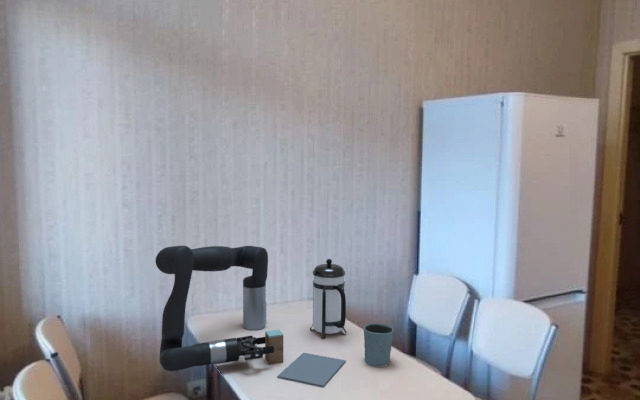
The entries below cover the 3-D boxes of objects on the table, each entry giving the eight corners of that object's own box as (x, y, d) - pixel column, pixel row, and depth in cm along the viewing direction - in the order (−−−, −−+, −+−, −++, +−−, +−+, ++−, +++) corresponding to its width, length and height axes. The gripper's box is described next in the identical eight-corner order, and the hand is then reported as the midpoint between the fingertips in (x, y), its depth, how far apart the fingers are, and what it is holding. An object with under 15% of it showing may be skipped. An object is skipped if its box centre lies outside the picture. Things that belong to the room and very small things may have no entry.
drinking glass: (357, 358, 174) (358, 325, 173) (383, 353, 178) (383, 321, 177) (372, 369, 165) (372, 335, 164) (398, 365, 169) (399, 331, 168)
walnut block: (265, 358, 173) (265, 331, 172) (278, 356, 175) (278, 329, 174) (269, 364, 168) (269, 336, 167) (283, 362, 170) (283, 334, 169)
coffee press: (302, 337, 193) (302, 261, 190) (317, 323, 208) (318, 253, 204) (344, 344, 186) (345, 266, 183) (357, 330, 201) (358, 257, 198)
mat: (303, 354, 177) (303, 352, 177) (345, 362, 171) (345, 360, 171) (277, 377, 159) (277, 375, 159) (323, 387, 153) (323, 385, 152)
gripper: (227, 348, 157) (276, 341, 163) (218, 332, 170) (264, 326, 176) (227, 371, 158) (276, 363, 164) (219, 353, 171) (264, 347, 177)
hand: (270, 344), depth 170 cm, fingers open, 8 cm apart
